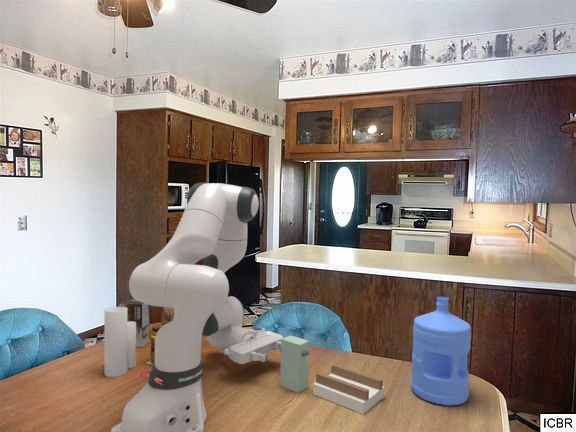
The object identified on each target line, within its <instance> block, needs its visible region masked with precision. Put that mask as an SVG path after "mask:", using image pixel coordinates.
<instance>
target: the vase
mask: <svg viewBox="0 0 576 432" xmlns="http://www.w3.org/2000/svg"><path fill="white" fill-rule="evenodd" d="M103 350H104V354H103V355H104V359H103V360H104V361H103V362H104V368H103V369H104V374H103V375H104V376H105V377H107V378H118V377H122V376H124V375H125V374H127V373H128V370H129V369H132V368H134V367H136V364H137V347H136V322H134V321H129V322H127V308H126V307H119V306H113V307H108V308H105V309H104V349H103Z"/></svg>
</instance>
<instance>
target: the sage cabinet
mask: <svg viewBox="0 0 576 432" xmlns="http://www.w3.org/2000/svg"><path fill="white" fill-rule="evenodd" d="M309 362H310V341H309V340H307V339H304V338H300V337H298V336H294V335H289V336H285V337H284V338H283V339H281V352H280V371H279V372H280V374H279V375H280V377H279V380H280V384H279V386H280V387H283V388H284V389H288V390H290V391H292V392H294V393H297V394H300V393H302V392H304V391H305V390H306V389H308V388H309V371H310V369H309V367H310V366H309V365H310V364H309Z"/></svg>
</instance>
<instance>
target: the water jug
mask: <svg viewBox="0 0 576 432" xmlns="http://www.w3.org/2000/svg"><path fill="white" fill-rule="evenodd" d="M436 299H437V301H436V309H435V310H434V311H431V312H428V313H425V314H422V315H418V316H416V317H415V318H414V319H413V325H412V332H413V333H412V334H413V337H412V338H413V339H412V342H413V343H412V354H411V362H412V363H411V364H412V369H411V370H412V371H411V374H412V375H411V380H410V381H411V382H410V387H411V390H412V392H413V393H414V394H415V395H416V396H417V397H419V398H420V399H422V400H425V401H426V402H428V401H429V403H431V402H432V403H431V404H435V403H436V405H439V404H441V406H459V405H462V404H464V403H466V402H467V401H468V399H469V397H470V396H469V395H470V390H469V389H470V388H469V383H470V381H469V380H470V379H469V378H470V373H469V371H468V353H469V352H470V351H471V341H472V328H471V325H470V324H469V323H468V322H467V321H465V320H463V319H461V318H459V317H458V316H457V315H454V314H452V313H450V311H449V297H446V296H437V297H436Z"/></svg>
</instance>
